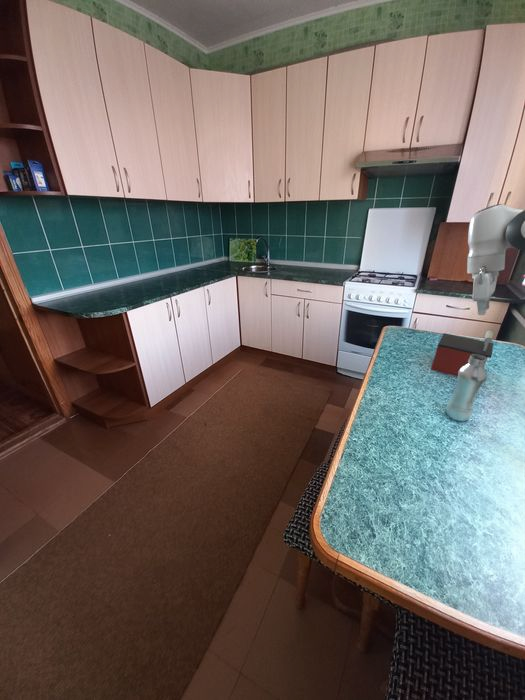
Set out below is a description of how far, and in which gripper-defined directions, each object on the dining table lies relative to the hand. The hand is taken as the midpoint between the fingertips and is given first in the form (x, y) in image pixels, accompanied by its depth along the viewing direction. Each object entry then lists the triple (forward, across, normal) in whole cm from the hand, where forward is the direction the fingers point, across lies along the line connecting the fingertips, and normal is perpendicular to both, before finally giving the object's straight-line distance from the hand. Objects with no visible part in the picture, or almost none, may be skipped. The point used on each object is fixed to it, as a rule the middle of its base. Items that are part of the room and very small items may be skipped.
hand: (483, 312), depth 89 cm
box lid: (+14, +11, +6) cm, 19 cm away
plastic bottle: (+28, -18, +4) cm, 34 cm away
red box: (+24, +12, +9) cm, 28 cm away
